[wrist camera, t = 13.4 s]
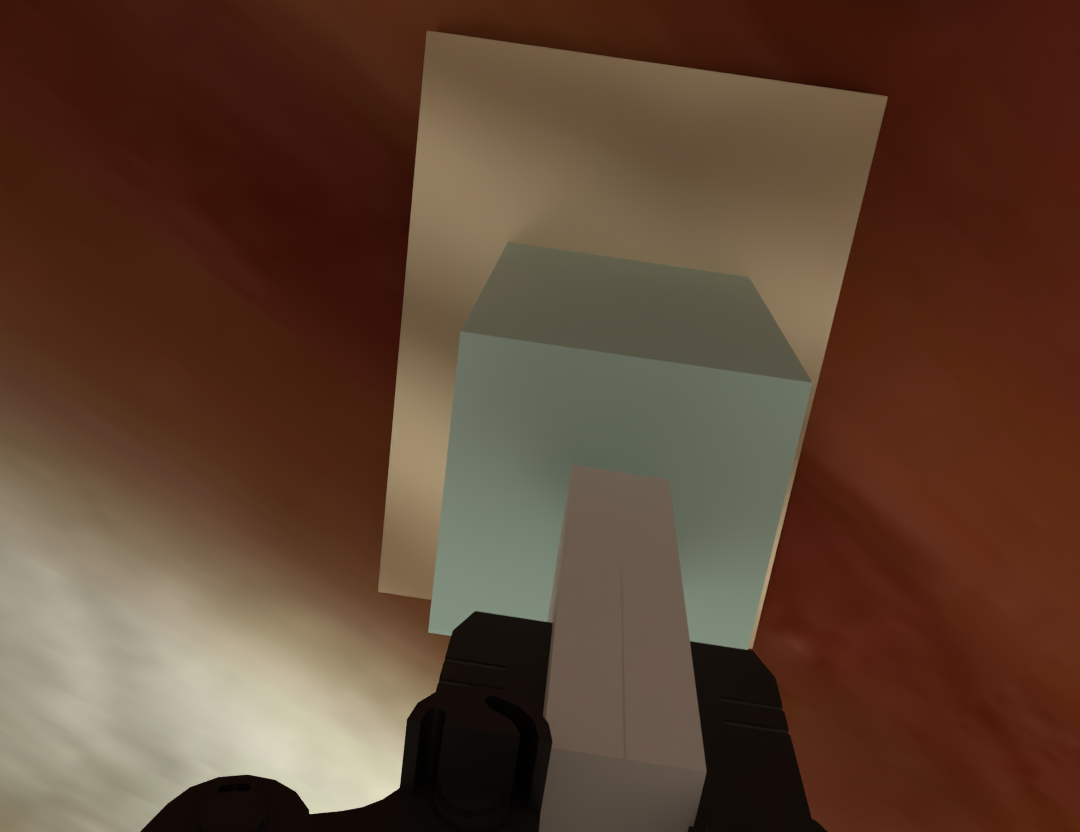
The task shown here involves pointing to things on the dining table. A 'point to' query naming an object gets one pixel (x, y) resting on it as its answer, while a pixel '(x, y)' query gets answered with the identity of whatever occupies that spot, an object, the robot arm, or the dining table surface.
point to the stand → (607, 216)
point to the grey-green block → (616, 428)
